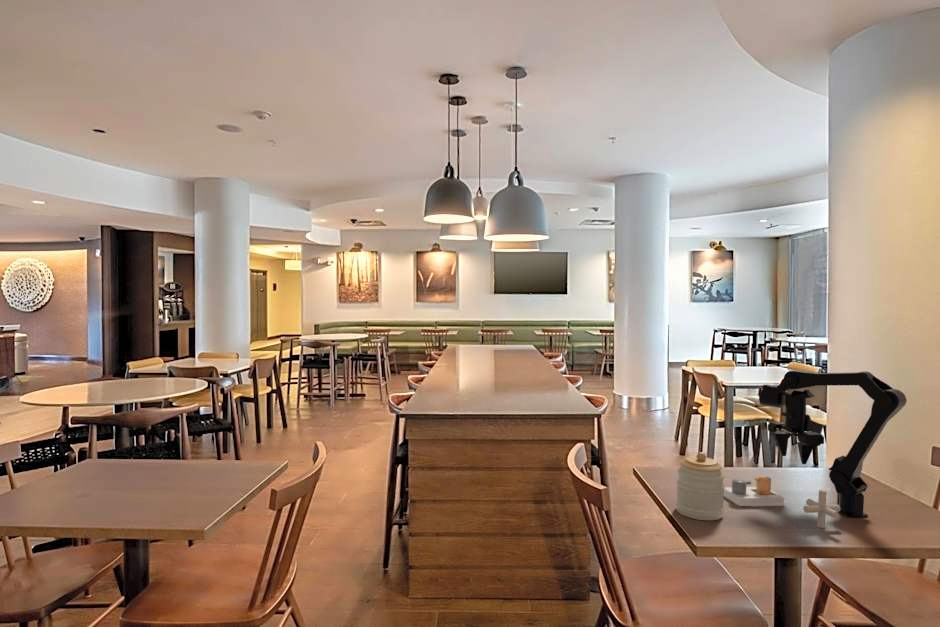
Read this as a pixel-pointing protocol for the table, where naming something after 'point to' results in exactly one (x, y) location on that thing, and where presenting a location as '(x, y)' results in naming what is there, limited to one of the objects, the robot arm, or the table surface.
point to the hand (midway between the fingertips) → (793, 460)
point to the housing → (750, 495)
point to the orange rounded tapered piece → (763, 485)
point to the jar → (700, 488)
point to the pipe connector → (821, 508)
